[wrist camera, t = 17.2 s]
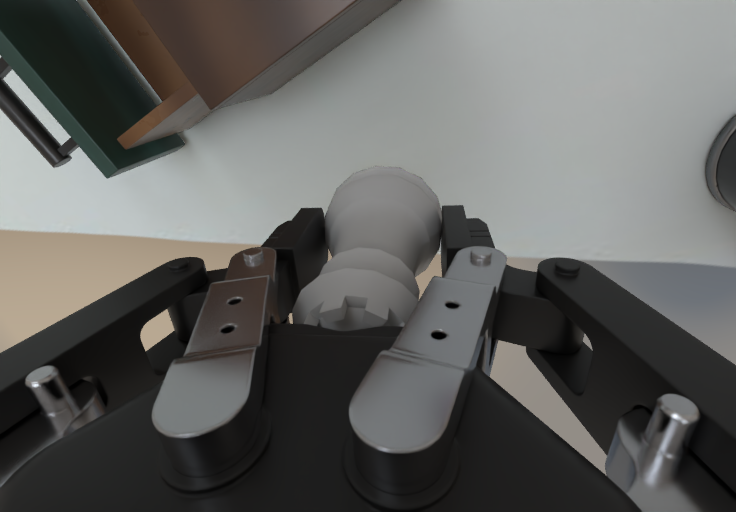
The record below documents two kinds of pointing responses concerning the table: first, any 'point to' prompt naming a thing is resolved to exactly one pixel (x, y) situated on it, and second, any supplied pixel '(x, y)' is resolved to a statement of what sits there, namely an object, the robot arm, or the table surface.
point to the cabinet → (253, 40)
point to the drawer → (94, 83)
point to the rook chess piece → (373, 251)
